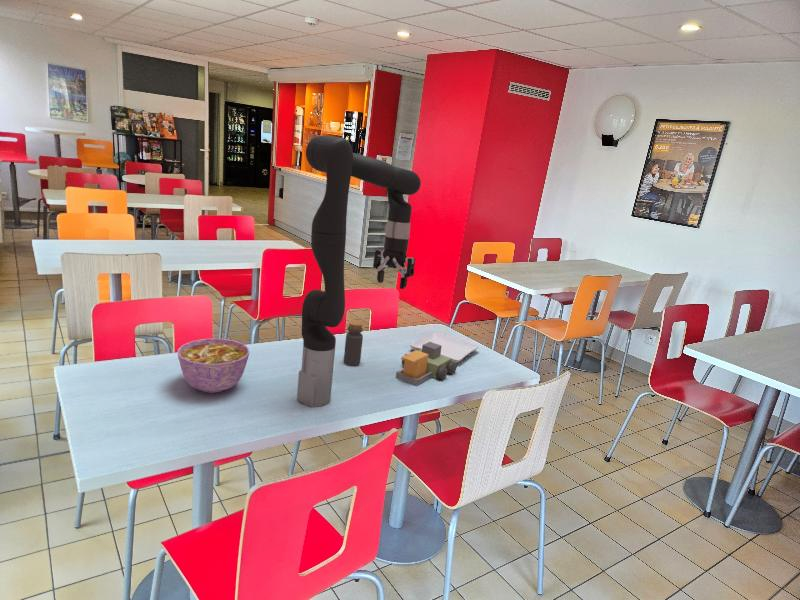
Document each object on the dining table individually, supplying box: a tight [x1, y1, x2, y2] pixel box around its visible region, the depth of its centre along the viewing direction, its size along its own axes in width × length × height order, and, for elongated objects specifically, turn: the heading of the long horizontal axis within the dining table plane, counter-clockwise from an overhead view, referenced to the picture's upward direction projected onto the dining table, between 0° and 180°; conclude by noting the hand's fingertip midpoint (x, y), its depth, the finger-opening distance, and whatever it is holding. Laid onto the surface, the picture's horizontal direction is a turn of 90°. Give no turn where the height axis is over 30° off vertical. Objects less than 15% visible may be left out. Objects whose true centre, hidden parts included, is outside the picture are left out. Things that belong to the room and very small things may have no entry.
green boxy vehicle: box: [395, 342, 458, 387], centre depth 186 cm, size 20×16×9 cm
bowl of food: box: [177, 338, 251, 394], centre depth 157 cm, size 20×20×12 cm
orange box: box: [400, 350, 429, 379], centre depth 180 cm, size 10×5×8 cm, turn 146°
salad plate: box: [409, 331, 479, 364], centre depth 209 cm, size 21×21×3 cm
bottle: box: [343, 320, 364, 367], centre depth 186 cm, size 6×6×15 cm
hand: (391, 285), depth 171 cm, fingers open, 8 cm apart
